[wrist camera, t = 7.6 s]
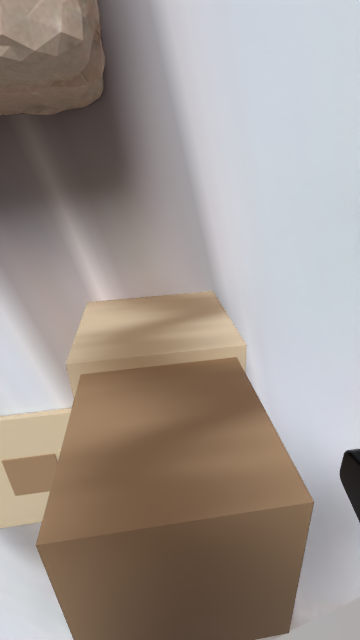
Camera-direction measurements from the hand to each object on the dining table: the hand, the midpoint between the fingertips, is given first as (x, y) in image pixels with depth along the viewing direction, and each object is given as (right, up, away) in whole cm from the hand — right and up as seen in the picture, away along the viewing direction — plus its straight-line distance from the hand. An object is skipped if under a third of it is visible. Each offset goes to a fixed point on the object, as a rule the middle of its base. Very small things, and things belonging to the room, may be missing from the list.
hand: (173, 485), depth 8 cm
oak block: (-1, +3, +6) cm, 7 cm away
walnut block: (0, +1, +2) cm, 2 cm away
